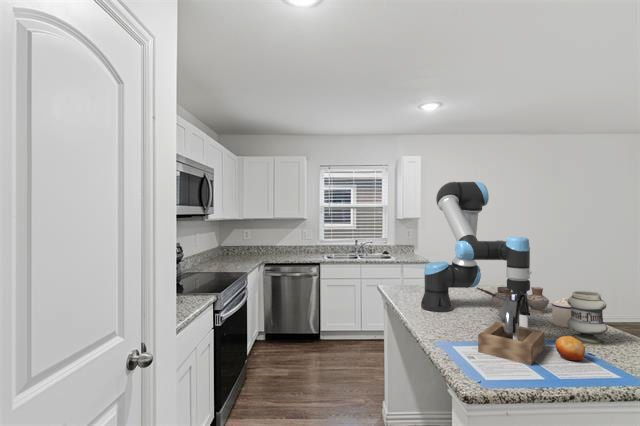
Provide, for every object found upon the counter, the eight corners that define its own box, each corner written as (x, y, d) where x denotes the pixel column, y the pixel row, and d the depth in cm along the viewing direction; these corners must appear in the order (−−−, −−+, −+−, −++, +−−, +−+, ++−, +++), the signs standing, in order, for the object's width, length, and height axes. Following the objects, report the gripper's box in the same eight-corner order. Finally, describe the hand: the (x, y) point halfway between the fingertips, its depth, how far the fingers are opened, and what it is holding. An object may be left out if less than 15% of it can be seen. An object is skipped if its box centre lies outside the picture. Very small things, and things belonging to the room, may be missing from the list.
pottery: (551, 316, 165) (551, 290, 165) (493, 310, 174) (492, 286, 174) (546, 310, 175) (545, 286, 175) (490, 305, 184) (490, 282, 184)
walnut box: (478, 351, 121) (478, 334, 121) (496, 337, 135) (496, 321, 135) (530, 365, 110) (530, 346, 110) (544, 347, 124) (544, 331, 124)
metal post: (500, 352, 120) (499, 312, 120) (504, 349, 123) (503, 309, 123) (514, 356, 117) (514, 314, 117) (517, 352, 120) (517, 311, 120)
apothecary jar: (560, 334, 138) (560, 289, 138) (591, 335, 138) (591, 289, 138) (582, 346, 126) (581, 296, 126) (616, 346, 126) (615, 296, 126)
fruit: (577, 349, 119) (582, 332, 116) (585, 369, 113) (590, 352, 109) (550, 346, 122) (553, 330, 118) (556, 365, 116) (560, 349, 112)
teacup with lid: (580, 329, 145) (579, 301, 145) (554, 326, 148) (553, 299, 148) (572, 321, 156) (572, 295, 156) (548, 319, 159) (548, 293, 159)
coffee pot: (521, 319, 159) (521, 286, 159) (532, 327, 148) (532, 291, 148) (472, 316, 163) (472, 284, 163) (478, 324, 152) (478, 289, 152)
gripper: (520, 284, 117) (521, 348, 117) (537, 276, 135) (538, 331, 135) (496, 282, 122) (497, 342, 122) (516, 274, 141) (516, 327, 140)
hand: (518, 336), depth 128 cm, fingers open, 13 cm apart
